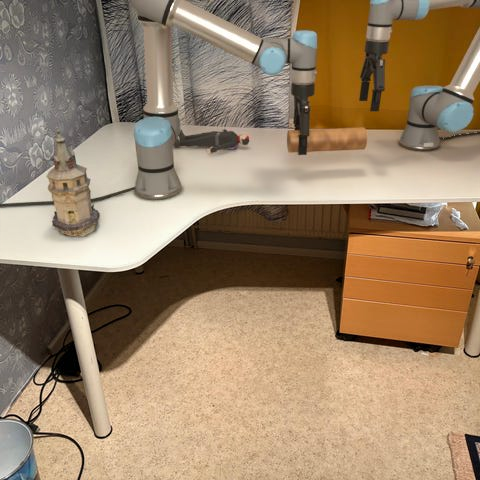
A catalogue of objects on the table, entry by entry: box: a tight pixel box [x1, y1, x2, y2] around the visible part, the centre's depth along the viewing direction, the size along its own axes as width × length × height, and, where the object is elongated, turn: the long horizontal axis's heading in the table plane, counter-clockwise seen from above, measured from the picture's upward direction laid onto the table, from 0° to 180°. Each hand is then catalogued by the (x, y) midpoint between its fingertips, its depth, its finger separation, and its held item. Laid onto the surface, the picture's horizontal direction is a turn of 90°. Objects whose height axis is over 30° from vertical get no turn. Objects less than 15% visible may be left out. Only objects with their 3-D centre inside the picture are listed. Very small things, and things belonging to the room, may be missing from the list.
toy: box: [173, 128, 250, 154], centre depth 214 cm, size 26×6×30 cm
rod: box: [286, 126, 368, 154], centre depth 182 cm, size 26×7×7 cm, turn 95°
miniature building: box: [46, 129, 101, 237], centre depth 148 cm, size 13×14×30 cm
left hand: (300, 150), depth 183 cm, fingers closed on rod, 7 cm apart
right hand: (368, 105), depth 183 cm, fingers open, 13 cm apart
